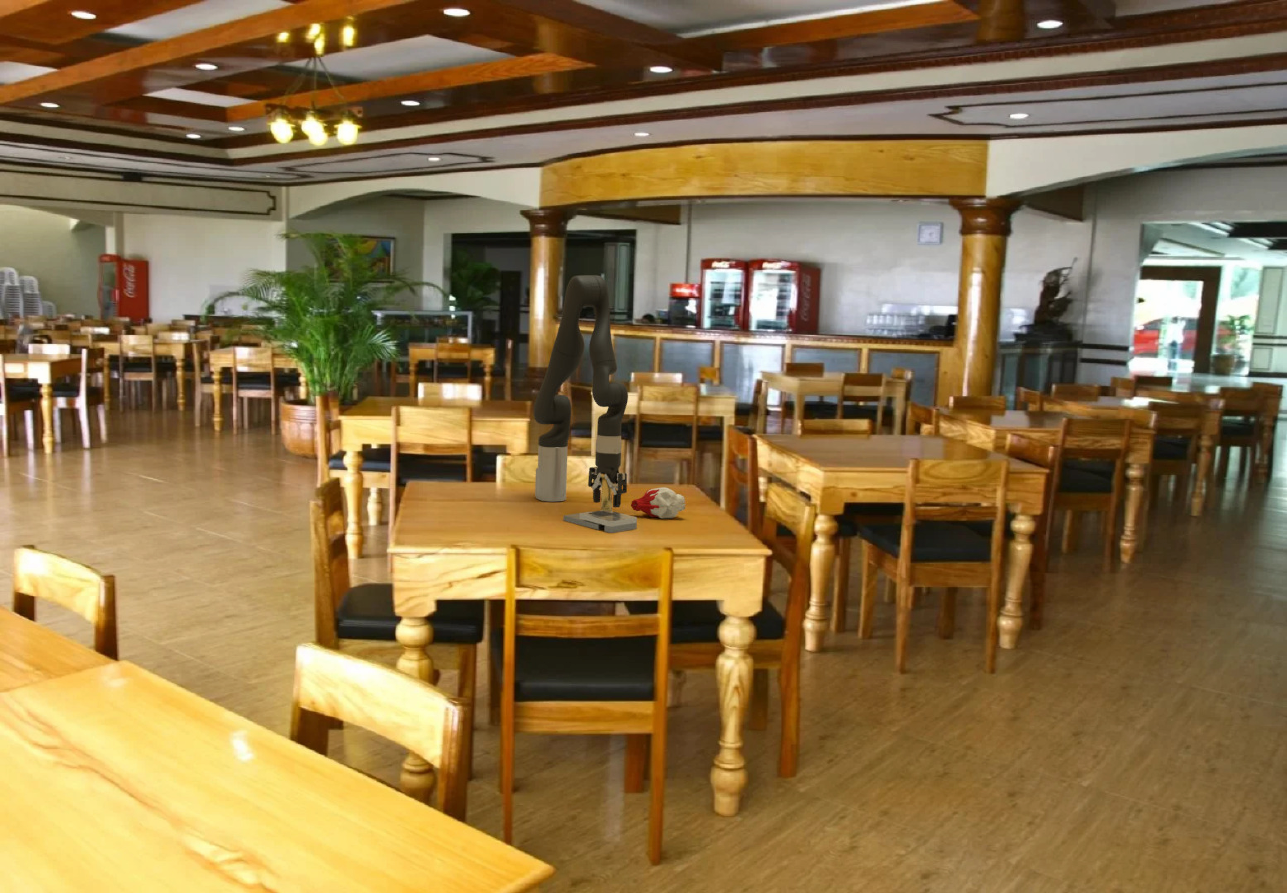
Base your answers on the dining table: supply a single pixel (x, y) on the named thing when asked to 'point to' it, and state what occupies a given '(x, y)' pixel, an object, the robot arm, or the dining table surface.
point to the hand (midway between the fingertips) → (606, 504)
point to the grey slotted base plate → (603, 520)
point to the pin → (606, 495)
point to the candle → (660, 503)
